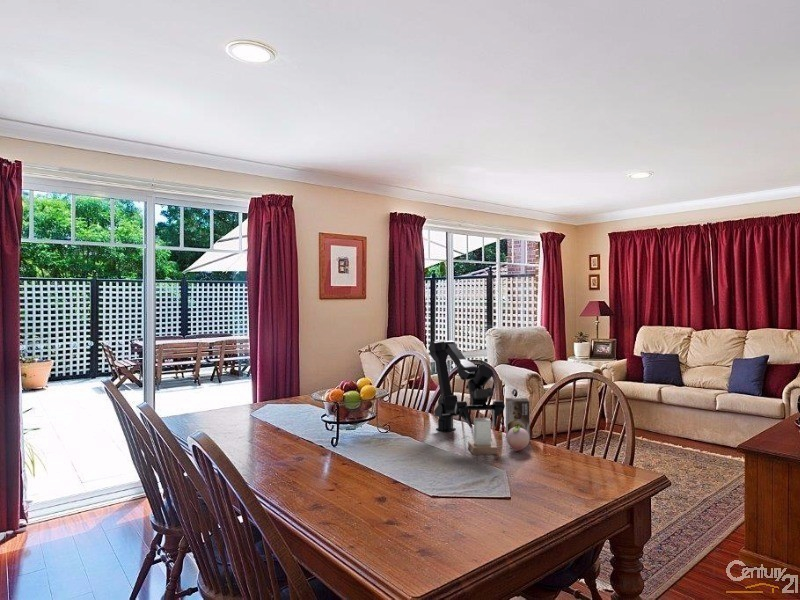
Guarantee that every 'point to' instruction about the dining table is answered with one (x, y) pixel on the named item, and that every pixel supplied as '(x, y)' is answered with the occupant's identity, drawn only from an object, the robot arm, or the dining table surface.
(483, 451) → the plinth
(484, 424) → the tea tin
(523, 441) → the decorative fruit
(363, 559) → the dining table surface
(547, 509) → the dining table surface
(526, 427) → the coffee box
